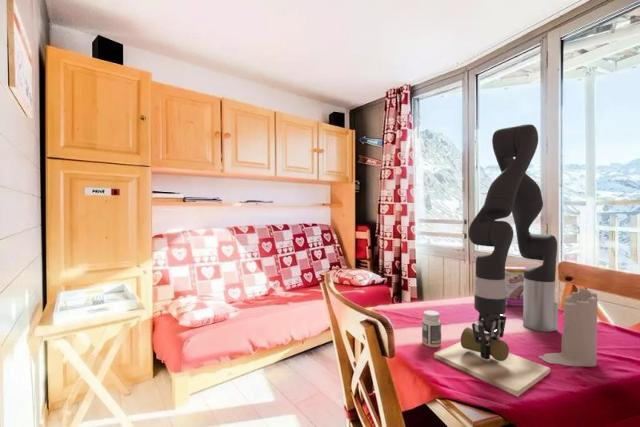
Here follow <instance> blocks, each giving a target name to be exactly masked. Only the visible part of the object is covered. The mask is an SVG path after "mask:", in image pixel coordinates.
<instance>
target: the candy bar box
mask: <svg viewBox="0 0 640 427" xmlns="http://www.w3.org/2000/svg"><path fill="white" fill-rule="evenodd" d="M526 269H529V268H527V267H523V266H521V267H520V266H505V284H506V307H523V288H524V270H526Z"/></svg>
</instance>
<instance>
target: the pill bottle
mask: <svg viewBox="0 0 640 427" xmlns="http://www.w3.org/2000/svg"><path fill="white" fill-rule="evenodd" d="M423 317H424V318H422V320H421V329H422V330H421V333H422V334H421V338H422V339H421V341H422V344H423V345H425V346H427V347H430V348H440V346H441V345H442V322H441V320H440V313H439V312H438V311H436V310H424V311H423Z"/></svg>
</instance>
